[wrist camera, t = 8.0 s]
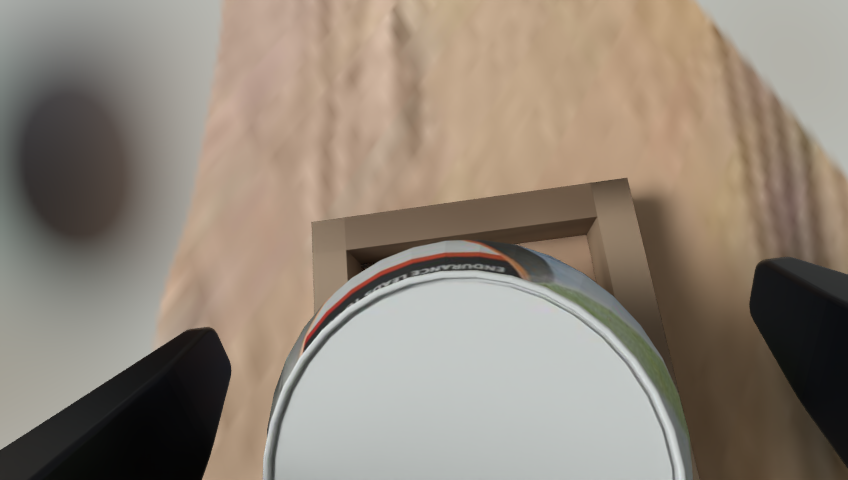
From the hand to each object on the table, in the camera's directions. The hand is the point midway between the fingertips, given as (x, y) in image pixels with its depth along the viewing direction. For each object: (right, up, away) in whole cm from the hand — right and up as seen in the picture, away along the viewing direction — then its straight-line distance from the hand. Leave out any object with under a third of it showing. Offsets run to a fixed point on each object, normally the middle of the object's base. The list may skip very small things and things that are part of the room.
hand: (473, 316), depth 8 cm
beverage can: (+1, -4, +9) cm, 10 cm away
